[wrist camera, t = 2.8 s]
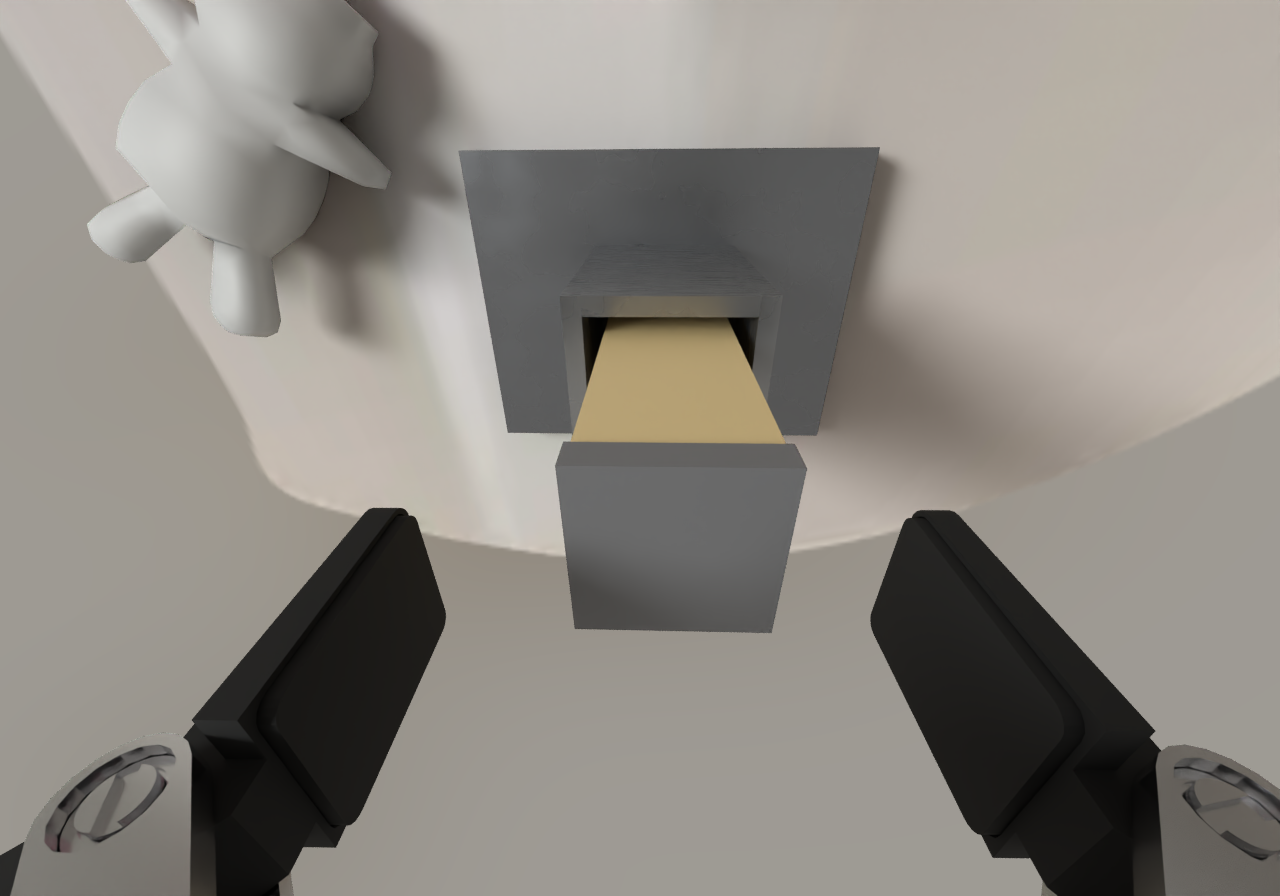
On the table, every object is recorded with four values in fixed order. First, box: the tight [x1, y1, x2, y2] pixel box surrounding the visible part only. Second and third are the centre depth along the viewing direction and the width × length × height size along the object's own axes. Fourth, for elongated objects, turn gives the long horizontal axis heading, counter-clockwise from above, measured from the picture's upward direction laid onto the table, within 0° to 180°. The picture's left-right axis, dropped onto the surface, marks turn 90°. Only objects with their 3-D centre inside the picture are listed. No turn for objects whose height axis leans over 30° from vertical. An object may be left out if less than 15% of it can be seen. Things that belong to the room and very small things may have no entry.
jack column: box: [555, 317, 807, 633], centre depth 16 cm, size 4×4×17 cm
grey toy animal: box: [87, 0, 392, 337], centre depth 20 cm, size 10×5×15 cm
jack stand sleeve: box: [459, 147, 880, 436], centre depth 20 cm, size 18×14×12 cm
